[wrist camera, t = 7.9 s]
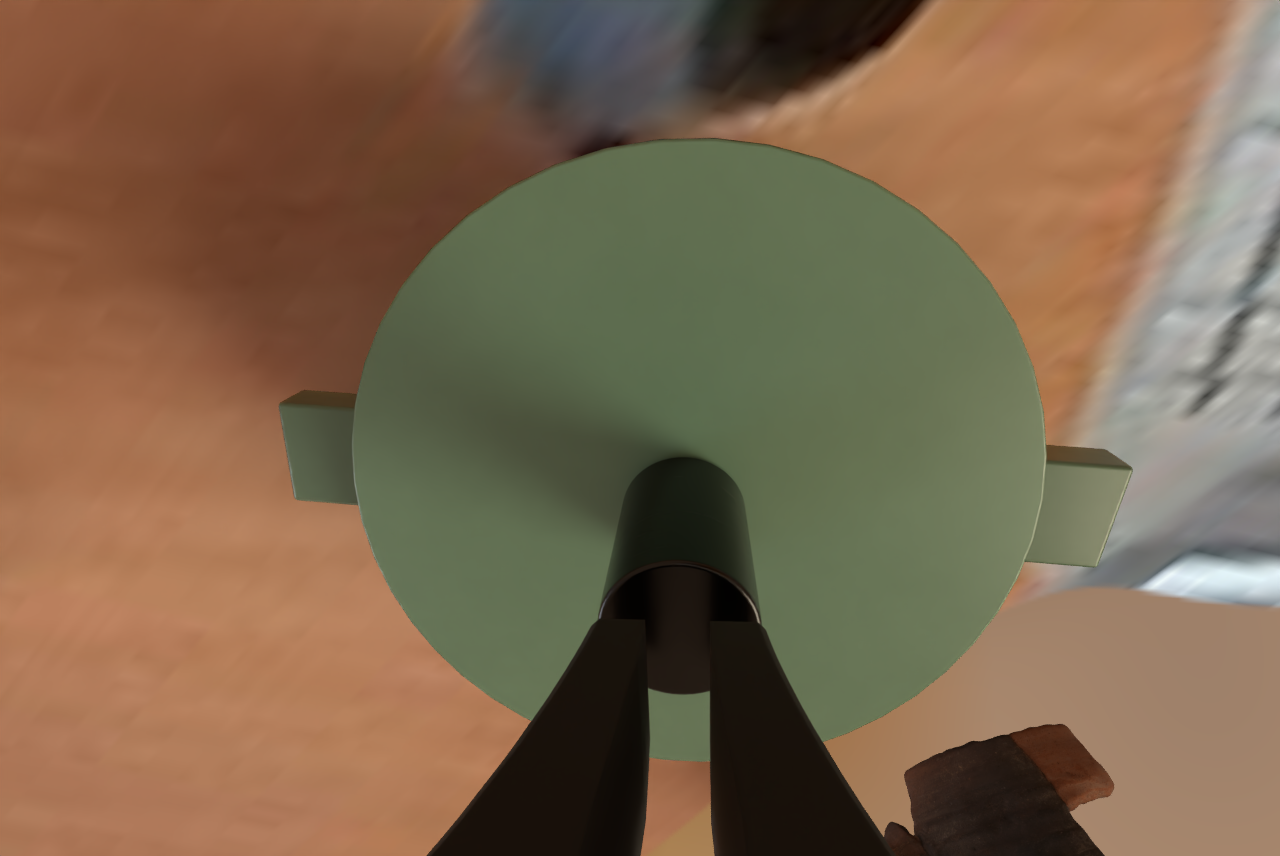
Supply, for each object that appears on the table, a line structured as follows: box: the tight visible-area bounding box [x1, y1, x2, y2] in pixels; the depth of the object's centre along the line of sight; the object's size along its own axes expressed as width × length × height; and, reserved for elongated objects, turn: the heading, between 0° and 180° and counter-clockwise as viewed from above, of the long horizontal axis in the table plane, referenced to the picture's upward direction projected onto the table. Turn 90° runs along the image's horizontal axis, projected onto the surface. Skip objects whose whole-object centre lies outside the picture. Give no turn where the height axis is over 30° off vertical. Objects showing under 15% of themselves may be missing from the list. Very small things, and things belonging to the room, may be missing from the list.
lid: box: [352, 138, 1047, 762], centre depth 11 cm, size 13×13×5 cm
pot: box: [279, 390, 1133, 567], centre depth 16 cm, size 12×18×5 cm
